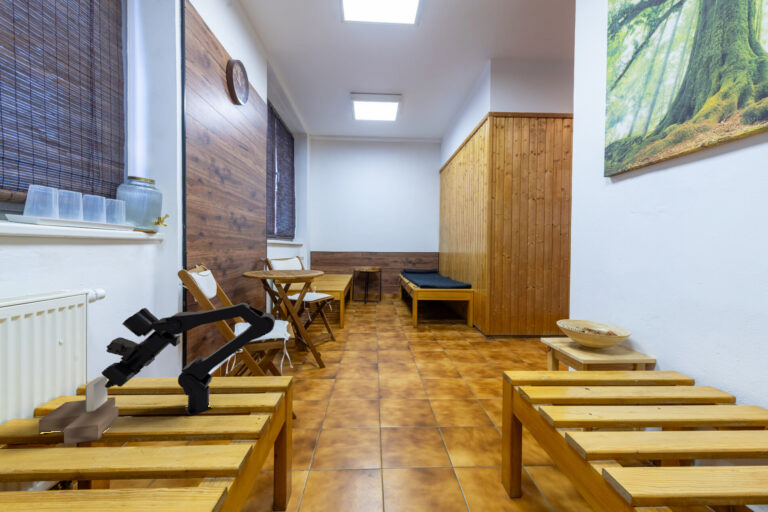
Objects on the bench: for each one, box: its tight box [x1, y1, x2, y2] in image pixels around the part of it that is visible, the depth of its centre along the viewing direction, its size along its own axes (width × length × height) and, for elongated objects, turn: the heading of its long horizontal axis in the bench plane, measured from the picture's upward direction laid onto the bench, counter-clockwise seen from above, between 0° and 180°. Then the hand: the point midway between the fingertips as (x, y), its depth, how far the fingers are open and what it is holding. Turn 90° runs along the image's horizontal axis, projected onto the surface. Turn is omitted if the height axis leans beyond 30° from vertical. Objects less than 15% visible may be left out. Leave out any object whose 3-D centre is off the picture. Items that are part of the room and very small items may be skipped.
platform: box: [38, 396, 119, 445], centre depth 84 cm, size 16×16×4 cm
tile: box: [85, 375, 108, 412], centre depth 88 cm, size 2×6×8 cm, turn 17°
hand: (106, 386), depth 88 cm, fingers closed
